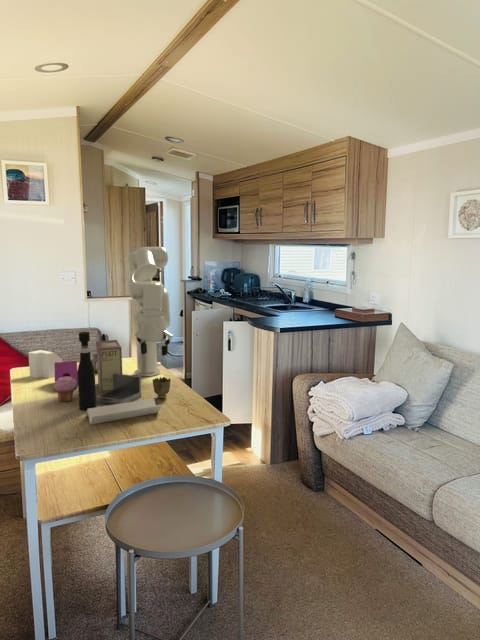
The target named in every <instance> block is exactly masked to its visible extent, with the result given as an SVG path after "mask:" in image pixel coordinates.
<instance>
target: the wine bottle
mask: <svg viewBox="0 0 480 640" xmlns="http://www.w3.org/2000/svg"><path fill="white" fill-rule="evenodd" d="M90 341H91V338H90V331H80V332H78V342H79V343H80V344H81V345H80V346H81V347H80V352H79V357H80V358H79V359H80V360H79V363H78V365H77V370H78V387H77V389H78V391H77V392H78V405H79V407H78V408H79V410H80V411H82V412H87V409H89V408H96V407H98V406H97V403H96V396H97V391H96V388H97V387H96V371H95V370H94V367H93V364H92V361H91V360H92V359H91V352H90V351H91V350H90V347H89V342H90Z"/></svg>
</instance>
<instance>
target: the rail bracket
mask: <svg viewBox="0 0 480 640" xmlns="http://www.w3.org/2000/svg"><path fill="white" fill-rule="evenodd" d="M141 380H142V376H137V375H131V374H125V373H122V374H116V373H114V374H113V386H114V389H112V390H110V391H108V392H105V393H103V394H101V393H100V394H99V395H96V404H101V405H106V406H109V405H115V404H121V403H128V402H134V401H138V400H139V399H142V381H141Z"/></svg>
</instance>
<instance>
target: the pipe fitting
mask: <svg viewBox="0 0 480 640" xmlns="http://www.w3.org/2000/svg"><path fill="white" fill-rule="evenodd" d="M91 354H92V357H93V358H92V359H91V361H92V364H93V367H94V371H95V373H98V368H97V351H95V352H92V353H91Z"/></svg>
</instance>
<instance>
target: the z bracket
mask: <svg viewBox="0 0 480 640" xmlns="http://www.w3.org/2000/svg"><path fill="white" fill-rule="evenodd" d="M155 401H156V400H155V398H149V399H147V398H146V399H142V400H135V401H133V402H128V403H121V404H115V405H103V406H97V407H96V408H89V409H87V411H86V414H85V418H88V421H89V424H90V425H95V424H102V423H107V422H113V421H118V420H123V419H129V418H136V417H141V416H142V417H143V416H146V415H147V416H148V415H154V414H158V413H159V411H160V409H161V407H162V404H158V405H157V404H156V402H155Z"/></svg>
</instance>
